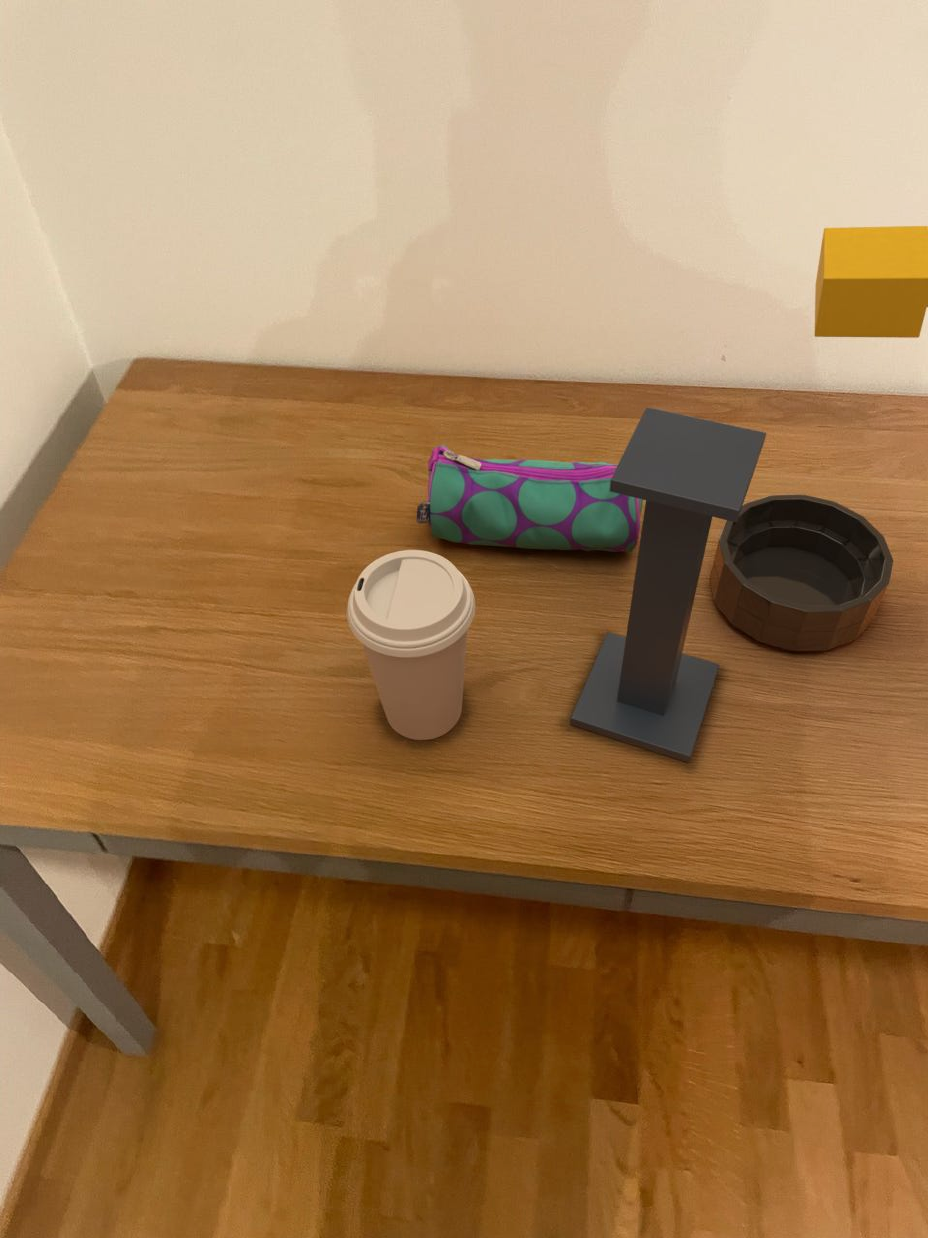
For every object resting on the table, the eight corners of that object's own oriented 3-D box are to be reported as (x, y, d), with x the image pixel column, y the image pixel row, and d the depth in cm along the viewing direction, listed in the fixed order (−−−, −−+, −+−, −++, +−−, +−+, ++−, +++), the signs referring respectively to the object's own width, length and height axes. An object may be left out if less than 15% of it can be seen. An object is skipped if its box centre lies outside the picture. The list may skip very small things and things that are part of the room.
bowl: (881, 563, 87) (901, 516, 83) (859, 676, 79) (880, 631, 74) (728, 525, 91) (740, 479, 87) (692, 629, 83) (702, 583, 78)
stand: (718, 671, 80) (785, 426, 60) (688, 763, 74) (752, 525, 54) (606, 638, 83) (636, 394, 63) (569, 724, 77) (589, 485, 57)
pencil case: (420, 559, 90) (412, 483, 83) (434, 498, 96) (427, 422, 88) (636, 574, 88) (647, 497, 80) (637, 511, 93) (648, 434, 86)
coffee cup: (406, 649, 83) (390, 526, 71) (500, 690, 79) (498, 568, 68) (345, 726, 77) (316, 607, 66) (442, 774, 74) (429, 657, 63)
